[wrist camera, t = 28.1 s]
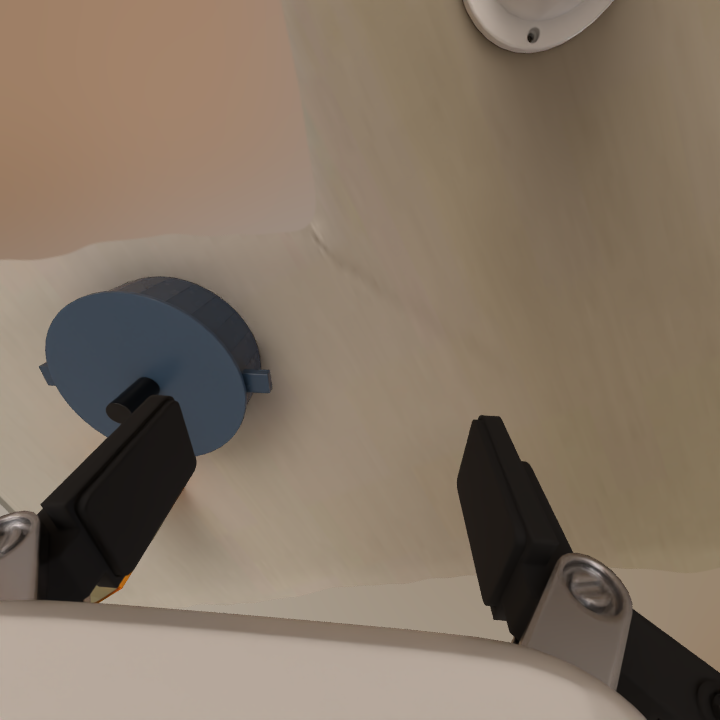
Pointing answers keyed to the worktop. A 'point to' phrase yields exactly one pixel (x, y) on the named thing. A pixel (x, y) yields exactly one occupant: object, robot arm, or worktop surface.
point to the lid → (144, 365)
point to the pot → (214, 317)
